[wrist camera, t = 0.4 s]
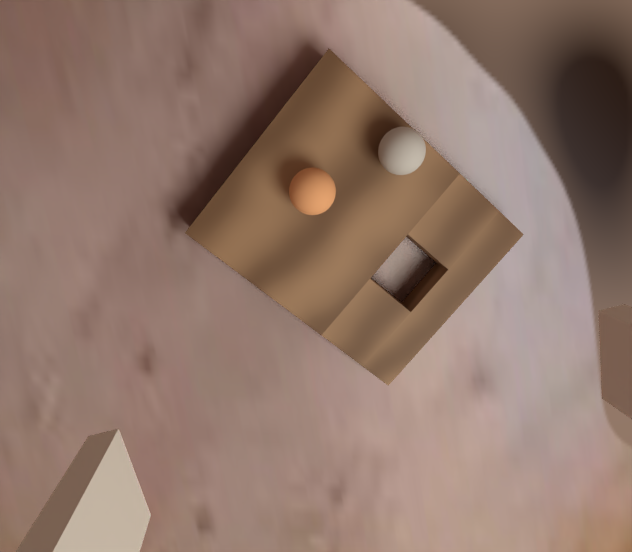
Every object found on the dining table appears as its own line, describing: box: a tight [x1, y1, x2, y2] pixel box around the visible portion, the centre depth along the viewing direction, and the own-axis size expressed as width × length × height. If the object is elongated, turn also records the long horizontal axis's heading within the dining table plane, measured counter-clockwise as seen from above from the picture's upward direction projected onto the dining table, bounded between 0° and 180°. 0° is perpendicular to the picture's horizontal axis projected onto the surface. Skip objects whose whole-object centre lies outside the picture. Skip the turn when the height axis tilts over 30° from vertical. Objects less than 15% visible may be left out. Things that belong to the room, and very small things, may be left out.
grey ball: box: [378, 127, 426, 175], centre depth 31 cm, size 3×3×3 cm
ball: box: [289, 168, 336, 215], centre depth 31 cm, size 3×3×3 cm
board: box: [185, 49, 523, 385], centre depth 35 cm, size 20×16×2 cm
